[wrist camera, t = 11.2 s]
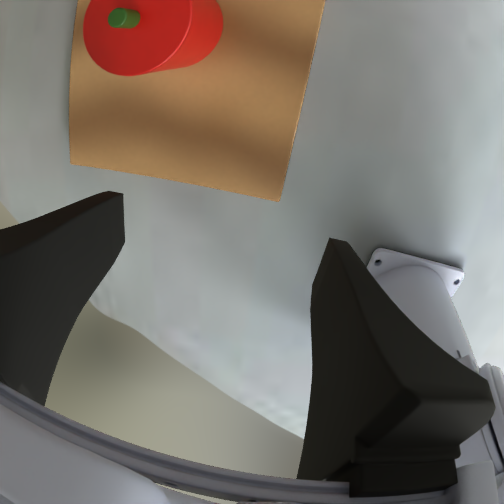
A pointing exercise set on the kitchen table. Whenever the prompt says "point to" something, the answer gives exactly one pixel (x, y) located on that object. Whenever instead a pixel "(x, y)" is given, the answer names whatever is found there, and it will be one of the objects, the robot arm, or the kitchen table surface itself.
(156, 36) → the pepper
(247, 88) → the cutting board
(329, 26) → the kitchen table surface
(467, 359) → the robot arm
